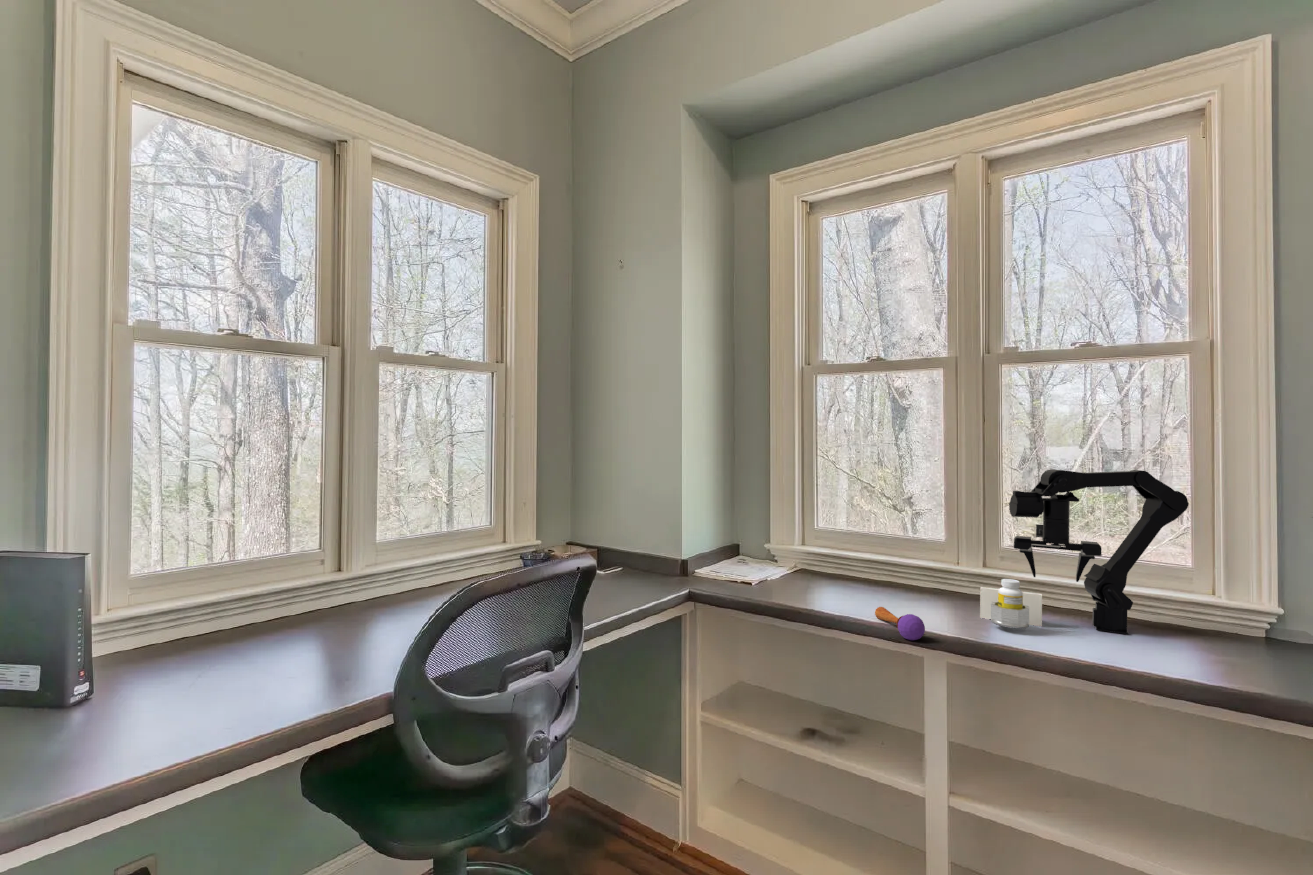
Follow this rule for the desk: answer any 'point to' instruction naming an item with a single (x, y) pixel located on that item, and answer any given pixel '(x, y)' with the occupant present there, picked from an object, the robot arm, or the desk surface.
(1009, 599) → the supplement bottle
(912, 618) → the purple maraca
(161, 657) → the desk surface
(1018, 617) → the cup bracket
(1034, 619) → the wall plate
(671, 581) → the desk surface
